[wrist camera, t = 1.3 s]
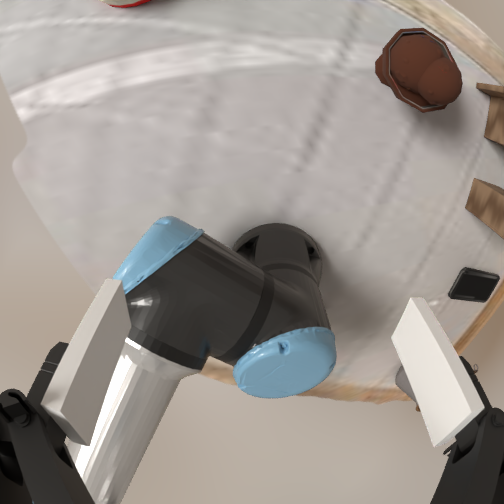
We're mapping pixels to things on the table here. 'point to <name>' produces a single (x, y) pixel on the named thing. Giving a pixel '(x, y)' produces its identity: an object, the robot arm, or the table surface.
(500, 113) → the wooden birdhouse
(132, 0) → the white and red dome
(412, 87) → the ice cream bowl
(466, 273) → the phone
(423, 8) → the table surface
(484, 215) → the block
